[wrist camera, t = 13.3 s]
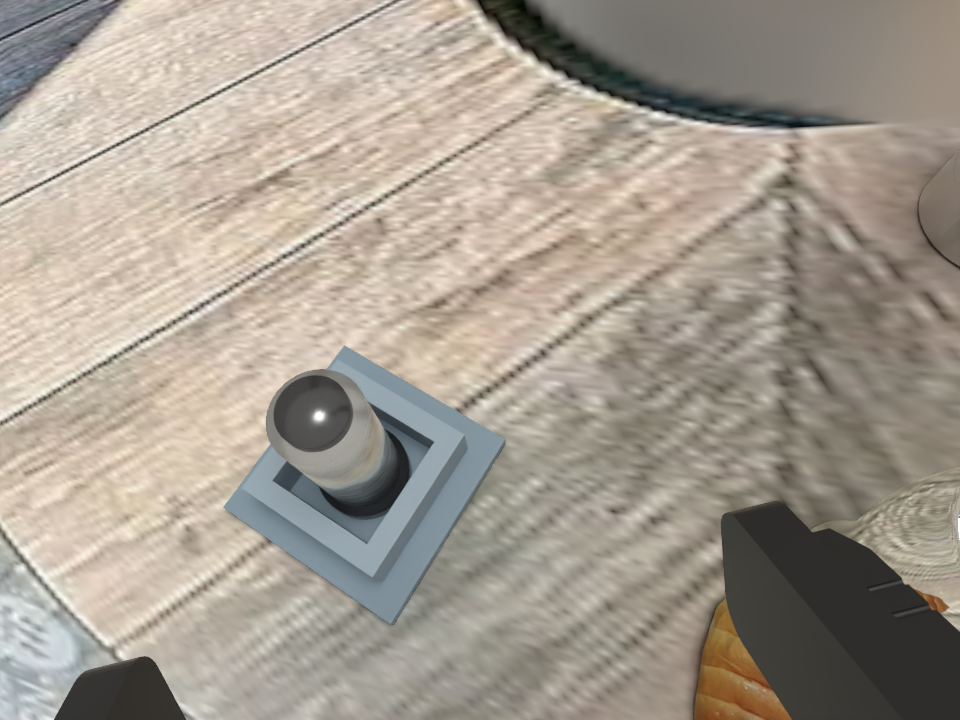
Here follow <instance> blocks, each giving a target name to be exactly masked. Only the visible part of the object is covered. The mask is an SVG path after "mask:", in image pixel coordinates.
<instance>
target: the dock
mask: <svg viewBox="0 0 960 720" xmlns="http://www.w3.org/2000/svg"><path fill="white" fill-rule="evenodd" d="M327 370H333V371H336V372H340V373H342V374H344V375H346V376H347V377H349V378H350V379H352V380H353V381H354V382H355V383H356V384H357V385H358V387H359V388H360V390H361V391H362V393H363V394H364V396H365V398H366V399H367V401H368V403H369V404H370V406H371V408H372V409H373V411H374V413H375V414H376V416H377V418H378V419H379V421H380V423H381V424H382V426H383V427H384V429H386V430H388V431H389V432H391V433H392V434H394V435H395V436H396V437H397V438H398V440H399V441H400V442H401V444H402V445H403V447H404V449H405V450H406V452H407V454H408V456H409V459H410V462H411V468H412V477H411V478H410V480H409V481H408V483H407V484H406V486H405V487H404V489H403V490H402V492H401V493H400V495H399V496H398V498H397V499H396V501H395V502H394V504H393V505H392V507H391V508H390V510H389V512H388V513H387V514H385V515H383V516H381V517H378V518H374V519H367V520H362V519H355V518H351V517H349V516H346V515H344V514H343V513H341V512H340V511H338V510H337V509H336V508H334V507H333V506H332V505H330V504H329V503H328V502H327V500H326V499H325V498H324V496H323V495H322V493H321V491H320V488H319V486H318V485H317V484H316V483H314V482H313V481H312V480H311V479H309V478H308V477H307V476H306V475H304V474H303V473H302V472H300V471H299V470H298V469H297V468H295V467H294V466H293V465H292V464H290V463H289V462H288V461H286V460H285V459H284V458H283V457H281V456H280V455H279V454H278V453H277V452H276V451H275V449H274V448H273V447H272V445H271V444H270V446H269V447H268V448H267V450H266V451H265V452H264V454H263V455H262V456H261V458H260V459H259V460H258V462H257V463H256V464H255V466H254V467H253V468H252V470H251V471H250V472H249V474H248V475H247V476H246V478H245V479H244V480H243V482H242V483H241V484H240V486H239V487H238V488H237V490H236V491H235V492H234V494H233V495H232V496H231V498H230V499H229V500H228V502H227V503H226V504H225V506H224V507H223V508H225V509H226V510H228V511H229V512H231V513H232V514H233V515H235V516H236V517H238V518H239V519H241V520H242V521H243V522H245V523H246V524H248V525H249V526H251V527H252V528H253V529H255V530H256V531H258V532H259V533H261V534H262V535H263V536H265V537H266V538H268V539H269V540H271V541H272V542H273V543H275V544H276V545H278V546H279V547H281V548H282V549H283V550H285V551H286V552H288V553H289V554H291V555H292V556H293V557H295V558H296V559H298V560H299V561H301V562H302V563H303V564H305V565H306V566H308V567H309V568H311V569H312V570H313V571H315V572H316V573H318V574H319V575H321V576H322V577H323V578H325V579H326V580H328V581H329V582H331V583H332V584H333V585H335V586H336V587H338V588H339V589H341V590H342V591H343V592H345V593H346V594H348V595H349V596H351V597H352V598H353V599H355V600H356V601H358V602H359V603H361V604H362V605H363V606H365V607H366V608H368V609H369V610H371V611H372V612H373V613H375V614H376V615H378V616H379V617H381V618H382V619H383V620H385V621H386V622H388V623H389V624H392V625H394V623H395V622H396V620H397V618H398V617H399V615H400V614H401V612H402V610H403V609H404V607H405V605H406V604H407V602H408V601H409V599H410V597H411V596H412V594H413V593H414V591H415V589H416V588H417V586H418V584H419V583H420V581H421V580H422V578H423V576H424V575H425V573H426V571H427V570H428V568H429V567H430V565H431V563H432V562H433V560H434V559H435V557H436V555H437V554H438V552H439V550H440V549H441V547H442V546H443V544H444V542H445V541H446V539H447V538H448V536H449V534H450V533H451V531H452V529H453V528H454V526H455V525H456V523H457V521H458V520H459V518H460V517H461V515H462V513H463V512H464V510H465V508H466V507H467V505H468V504H469V502H470V500H471V499H472V497H473V495H474V494H475V492H476V491H477V489H478V487H479V486H480V484H481V483H482V481H483V479H484V478H485V476H486V474H487V473H488V471H489V470H490V468H491V466H492V465H493V463H494V462H495V460H496V458H497V457H498V455H499V453H500V452H501V450H502V449H503V447H504V445H505V439H503V438H502V437H500V436H498V435H496V434H495V433H493V432H491V431H490V430H488V429H486V428H484V427H483V426H481V425H479V424H478V423H476V422H474V421H472V420H471V419H469V418H467V417H466V416H464V415H462V414H461V413H459V412H457V411H455V410H454V409H452V408H450V407H449V406H447V405H445V404H443V403H442V402H440V401H438V400H437V399H435V398H433V397H431V396H430V395H428V394H426V393H425V392H423V391H421V390H419V389H418V388H416V387H414V386H413V385H411V384H409V383H408V382H406V381H404V380H402V379H401V378H399V377H397V376H396V375H394V374H392V373H390V372H389V371H387V370H385V369H384V368H382V367H380V366H378V365H377V364H375V363H373V362H372V361H370V360H368V359H366V358H365V357H363V356H361V355H360V354H358V353H356V352H354V351H353V350H351V349H349V348H348V347H346V346H344V347H343V348H342V350H341V351H340V352H339V354H338V355H337V356H336V358H335V359H334V360H333V362H332V363H331V364H330V366H329V367H328V368H327Z"/></svg>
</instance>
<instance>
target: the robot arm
mask: <svg viewBox="0 0 960 720" xmlns="http://www.w3.org/2000/svg"><path fill="white" fill-rule="evenodd" d="M918 210H919V217H920V222H921V224H922V227H923V229H924V232H925V234H926V235H927V237H928V238H929V240H930V241H931V243H932V244H933V245H934V246H935V247H936V248H937V249H938V250H939V251H940V252H941V253H942V254H943V255H944V256H945V257H946V258H948V259H949V260H950V261H952V262H953V263H955V264H956V265H958V266H960V149H959V150H958V151H957V152H956V153H955V154H954V155H953V156H952V158H951V159H950V160H949V161H948V162H947V163H946V164H945V165H944V166H943V167H942V168H941V169H940V171H939V172H938V173H937V174H936V175H935V176H934V177H933V178H932V179H931V180H930V182H929V183H928V184H927V185H926V186H925V187H924V190H923V192H922V194H921V196H920V200H919V207H918ZM721 533H722V548H723V563H724V578H725V593H726V601H727V606H728V610H729V614H730V617H731V620H732V622H733V625H734V627H735V630H736V632H737V634H738V636H739V638H740V640H741V642H742V643H743V645H744V647H745V648H746V650H747V651H748V653H749V654H750V656H751V657H752V659H753V661H754V662H755V664H756V665H757V667H758V668H759V670H760V671H761V673H762V674H763V676H764V677H765V679H766V681H767V682H768V684H769V685H770V687H771V688H772V690H773V691H774V693H775V694H776V696H777V697H778V699H779V701H780V702H781V704H782V705H783V707H784V708H785V710H786V711H787V713H788V714H789V716H790V717H791V719H792V720H960V631H959V630H957V629H956V628H955V627H954V626H953V625H952V624H951V623H950V622H949V621H948V620H947V619H946V618H945V617H943V616H942V615H941V614H940V613H939V612H938V611H937V610H932V609H931V608H930V606H929V603H928V602H927V601H926V600H925V599H924V598H923V597H922V596H921V595H920V594H919V593H918V592H917V591H915V590H914V589H913V588H912V587H911V586H910V585H909V584H906V585H905V584H904V583H903V581H902V578H901V577H900V576H899V575H898V574H897V573H896V572H895V571H894V570H893V569H892V568H891V567H890V566H888V565H887V564H886V563H885V562H884V561H883V560H882V559H881V558H880V557H879V556H878V555H877V554H876V553H874V552H873V551H872V550H871V549H870V548H868V547H866V546H864V545H862V544H860V543H858V542H856V541H854V540H852V539H850V538H848V537H846V536H844V535H842V534H840V533H838V532H836V531H834V530H832V529H830V528H828V529H824V530H820V531H816V532H811V531H810V530H809V528H808V527H807V526H806V525H805V524H804V523H803V522H802V521H801V520H800V519H799V518H798V517H797V516H796V515H795V514H794V513H793V512H792V511H791V510H790V509H789V508H788V507H787V506H786V505H784V504H783V503H781V502H779V501H772V502H768V503H764V504H760V505H756V506H752V507H748V508H744V509H740V510H736V511H732V512H728V513H725V514H724V515H723V516H722V520H721ZM54 720H186V719H185V717H184V715H183V713H182V711H181V709H180V707H179V705H178V704H177V702H176V700H175V698H174V696H173V694H172V692H171V691H170V689H169V687H168V685H167V683H166V681H165V679H164V677H163V676H162V674H161V672H160V670H159V668H158V666H157V665H156V663H155V662H154V661H153V660H152V659H151V658H149V657H146V656H144V657H138V658H134V659H130V660H126V661H122V662H118V663H114V664H110V665H106V666H102V667H98V668H94V669H90V670H87V671H85V672H84V673H82V674H81V675H80V676H79V677H78V678H77V680H76V681H75V683H74V684H73V686H72V688H71V690H70V692H69V693H68V695H67V697H66V699H65V701H64V702H63V704H62V706H61V708H60V710H59V712H58V713H57V715H56V717H55V719H54Z"/></svg>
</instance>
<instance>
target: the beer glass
mask: <svg viewBox="0 0 960 720" xmlns="http://www.w3.org/2000/svg"><path fill="white" fill-rule="evenodd" d="M828 528H830V529H832V530H834V531H836V532H838V533H840V534H842V535H844V536H846V537H848V538H850V539H852V540H854V541H856V542H858V543H860V544H862V545H864V546H866V547H868V548H870V549H871V550H872V551H873V552H874V553H876V554H877V555H878V556H879V557H880V558H881V559H882V560H883V561H884V562H885V563H886V564H887V565H888V566H890V567H891V568H892V569H893V570H894V571H895V572H896V573H897V574H898V575H899V576H900V577H901V578H902V581H903V583H904V584H905V585H906V584H909V585H910V586H911V587H912V588H913V589H914V590H915V591H917V592H918V593H919V594H920V595H921V596H922V597H923V598H924V599H925V600H926V601H927V602H928V603H929V606H930V608H931V609H932V610H937V611H938V612H939V613H940V614H941V615H942V616H943V617H945V618H946V619H947V620H948V621H949V622H950V623H951V624H952V625H953V626H954V627H955V628H956V629H957V630H959V631H960V466H959V467H954V468H951V469H948V470H944V471H941V472H938V473H935V474H931V475H928V476H926V477H924V478H921V479H919V480H917V481H914V482H912V483H910V484H907V485H905V486H903V487H901V488H900V489H898V490H896V491H895V492H893V493H892V494H890V495H889V496H887V497H886V498H884V499H883V500H881V501H880V502H879V503H877V504H876V505H875V506H874V507H872V508H871V509H870V510H869V511H867V512H866V513H865V514H864V515H863V516H862V517H860V518H859V519H858V520H856V521H851V520H836V521H829V522H825V523H822V524H819V525H817V526H815V527H814V528H812V529H811V530H810V531H811V532H816V531H820V530H824V529H828Z"/></svg>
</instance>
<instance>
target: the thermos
mask: <svg viewBox="0 0 960 720" xmlns="http://www.w3.org/2000/svg"><path fill="white" fill-rule="evenodd" d="M266 431H267V436H268V438H269V441H270V443H271V445H272V447H273V448H274V449H275V451H276V452H277V453H278V454H279V455H280V456H281V457H283V458H284V459H285V460H286V461H288V462H289V463H290V464H292V465H293V466H294V467H295V468H297V469H298V470H299V471H300V472H302V473H303V474H304V475H306V476H307V477H308V478H309V479H311V480H312V481H313V482H314V483H316V484H317V485H318V486H319V488H320V491H321V493H322V495H323V496H324V498H325V499H326V500H327V502H328V503H329V504H330V505H332V506H333V507H334V508H336V509H337V510H338V511H340V512H341V513H343V514H344V515H346V516H349V517H351V518H355V519H362V520H367V519H374V518H378V517H381V516H383V515H385V514H387V513H388V512H389V510H390V508H391V507H392V505H393V504H394V502H395V501H396V499H397V498H398V496H399V495H400V493H401V492H402V490H403V489H404V487H405V486H406V484H407V483H408V481H409V480H410V478H411V477H412V468H411V462H410V459H409V456H408V454H407V452H406V450H405V449H404V447H403V445H402V444H401V442H400V441H399V440H398V438H397V437H396V436H395V435H394V434H392V433H391V432H389V431H388V430H386V429H384V427H383V426H382V424H381V423H380V421H379V419H378V418H377V416H376V414H375V413H374V411H373V409H372V408H371V406H370V404H369V403H368V401H367V399H366V398H365V396H364V394H363V393H362V391H361V390H360V388H359V387H358V385H357V384H356V383H355V382H354V381H353V380H352V379H350V378H349V377H347V376H346V375H344V374H342V373H340V372H336V371H333V370H325V369H319V370H312V371H307V372H304V373H301V374H299V375H297V376H295V377H293V378H292V379H290V380H289V381H288V382H286V383H285V384H284V385H283V386H282V387H281V388H280V389H279V390H278V391H277V393H276V394H275V396H274V397H273V399H272V401H271V403H270V405H269V408H268V411H267V416H266Z"/></svg>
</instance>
